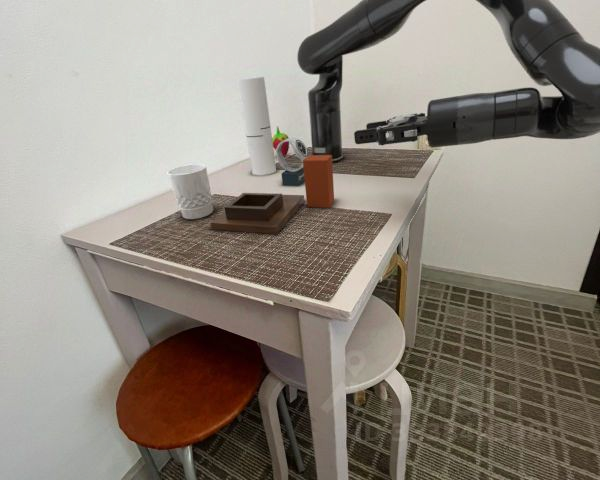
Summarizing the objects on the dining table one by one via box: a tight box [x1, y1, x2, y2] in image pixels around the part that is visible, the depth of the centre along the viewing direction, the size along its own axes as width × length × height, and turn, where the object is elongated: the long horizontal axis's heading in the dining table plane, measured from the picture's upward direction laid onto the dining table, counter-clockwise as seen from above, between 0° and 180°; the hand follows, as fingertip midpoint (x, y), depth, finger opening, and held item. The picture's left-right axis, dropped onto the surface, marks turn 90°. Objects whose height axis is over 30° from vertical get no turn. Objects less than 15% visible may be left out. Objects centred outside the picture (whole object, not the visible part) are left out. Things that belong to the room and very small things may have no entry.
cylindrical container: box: [236, 76, 277, 176], centre depth 92 cm, size 7×7×25 cm
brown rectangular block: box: [302, 154, 335, 209], centre depth 68 cm, size 4×5×10 cm
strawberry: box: [272, 125, 290, 157], centre depth 109 cm, size 6×7×10 cm
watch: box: [275, 137, 309, 187], centre depth 83 cm, size 6×8×11 cm
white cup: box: [166, 163, 214, 220], centre depth 70 cm, size 8×8×10 cm
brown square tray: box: [210, 192, 306, 235], centre depth 68 cm, size 16×14×4 cm
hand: (361, 133), depth 60 cm, fingers open, 8 cm apart
